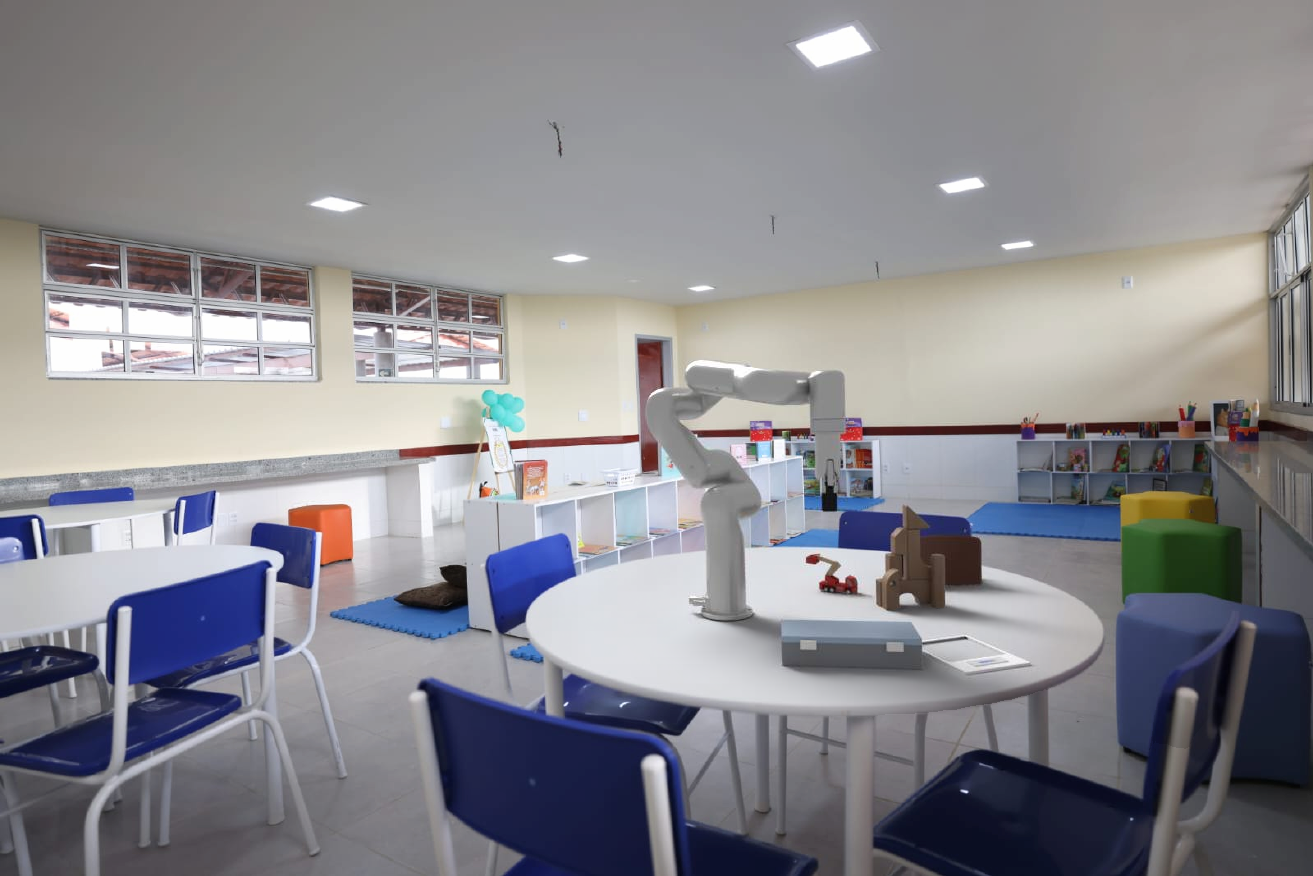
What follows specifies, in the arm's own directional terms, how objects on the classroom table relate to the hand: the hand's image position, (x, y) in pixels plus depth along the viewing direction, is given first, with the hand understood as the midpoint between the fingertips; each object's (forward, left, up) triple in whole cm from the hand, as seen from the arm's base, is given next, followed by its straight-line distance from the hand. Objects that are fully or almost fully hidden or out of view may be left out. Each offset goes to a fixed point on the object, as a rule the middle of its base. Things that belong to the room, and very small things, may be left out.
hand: (829, 511), depth 159 cm
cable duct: (+2, -15, -27) cm, 31 cm away
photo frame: (+25, -12, -28) cm, 39 cm away
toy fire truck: (+3, +38, -27) cm, 47 cm away
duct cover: (+2, -16, -24) cm, 29 cm away
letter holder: (+33, +50, -28) cm, 66 cm away
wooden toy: (+21, +24, -27) cm, 42 cm away
